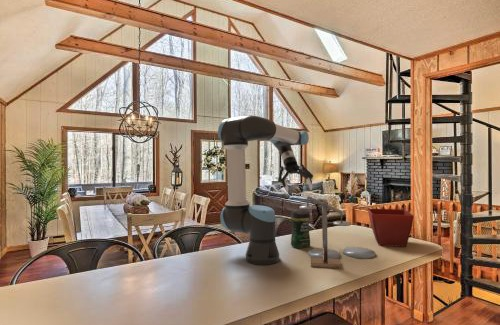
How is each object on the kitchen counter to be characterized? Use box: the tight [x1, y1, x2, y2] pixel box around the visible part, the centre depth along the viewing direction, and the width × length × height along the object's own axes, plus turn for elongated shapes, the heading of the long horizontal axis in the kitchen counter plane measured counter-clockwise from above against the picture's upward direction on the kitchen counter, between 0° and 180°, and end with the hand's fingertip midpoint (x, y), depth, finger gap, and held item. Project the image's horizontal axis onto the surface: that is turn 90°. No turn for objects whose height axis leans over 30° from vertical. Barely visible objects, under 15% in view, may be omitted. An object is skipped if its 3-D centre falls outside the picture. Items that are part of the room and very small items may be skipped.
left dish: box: [308, 247, 341, 259], centre depth 130 cm, size 14×14×1 cm
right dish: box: [342, 246, 376, 259], centre depth 132 cm, size 14×14×1 cm
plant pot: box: [367, 208, 414, 247], centre depth 150 cm, size 19×19×17 cm
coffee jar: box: [290, 209, 311, 249], centre depth 146 cm, size 10×8×19 cm
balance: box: [299, 195, 352, 269], centre depth 118 cm, size 21×7×29 cm, turn 78°
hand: (299, 189), depth 152 cm, fingers open, 13 cm apart
